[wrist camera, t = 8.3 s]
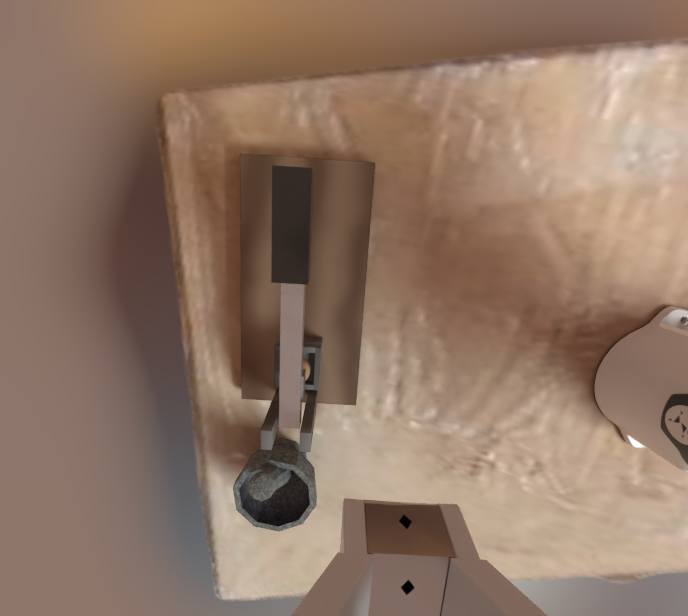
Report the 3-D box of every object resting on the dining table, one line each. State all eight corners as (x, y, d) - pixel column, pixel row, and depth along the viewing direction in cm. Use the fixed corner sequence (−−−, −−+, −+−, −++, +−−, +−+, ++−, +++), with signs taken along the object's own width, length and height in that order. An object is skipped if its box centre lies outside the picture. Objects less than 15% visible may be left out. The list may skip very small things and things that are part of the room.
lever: (316, 171, 32) (312, 167, 28) (306, 414, 39) (302, 440, 35) (281, 168, 32) (272, 165, 28) (278, 412, 39) (270, 438, 35)
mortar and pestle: (321, 488, 51) (314, 569, 39) (253, 491, 51) (227, 573, 39) (315, 414, 48) (305, 478, 36) (243, 418, 48) (211, 483, 37)
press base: (373, 165, 40) (387, 143, 28) (355, 397, 47) (359, 464, 35) (245, 156, 40) (200, 130, 28) (245, 391, 47) (210, 456, 35)
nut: (312, 352, 41) (309, 363, 38) (310, 377, 42) (308, 390, 39) (284, 351, 41) (280, 361, 38) (284, 376, 42) (279, 388, 39)
